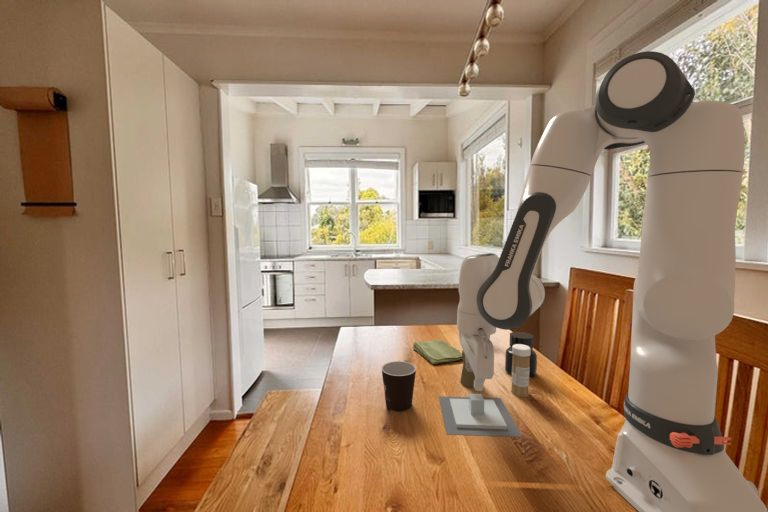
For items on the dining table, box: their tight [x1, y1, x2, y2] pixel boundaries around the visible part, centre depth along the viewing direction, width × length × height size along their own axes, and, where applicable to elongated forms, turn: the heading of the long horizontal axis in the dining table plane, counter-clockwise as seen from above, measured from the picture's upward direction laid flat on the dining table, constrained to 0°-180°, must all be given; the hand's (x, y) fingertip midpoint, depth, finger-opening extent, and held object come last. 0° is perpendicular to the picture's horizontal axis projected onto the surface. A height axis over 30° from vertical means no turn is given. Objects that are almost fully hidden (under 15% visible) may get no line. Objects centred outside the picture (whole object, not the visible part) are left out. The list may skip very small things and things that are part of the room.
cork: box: [459, 349, 475, 389], centre depth 93 cm, size 6×6×11 cm
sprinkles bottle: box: [510, 344, 531, 398], centre depth 87 cm, size 5×5×13 cm
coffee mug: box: [381, 360, 417, 413], centre depth 83 cm, size 12×9×10 cm
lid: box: [449, 393, 507, 429], centre depth 77 cm, size 11×11×4 cm
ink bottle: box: [504, 331, 538, 379], centre depth 101 cm, size 10×9×12 cm
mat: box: [438, 395, 523, 438], centre depth 77 cm, size 16×16×1 cm
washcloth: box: [412, 339, 464, 365], centre depth 116 cm, size 13×18×3 cm
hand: (473, 379), depth 77 cm, fingers open, 8 cm apart
